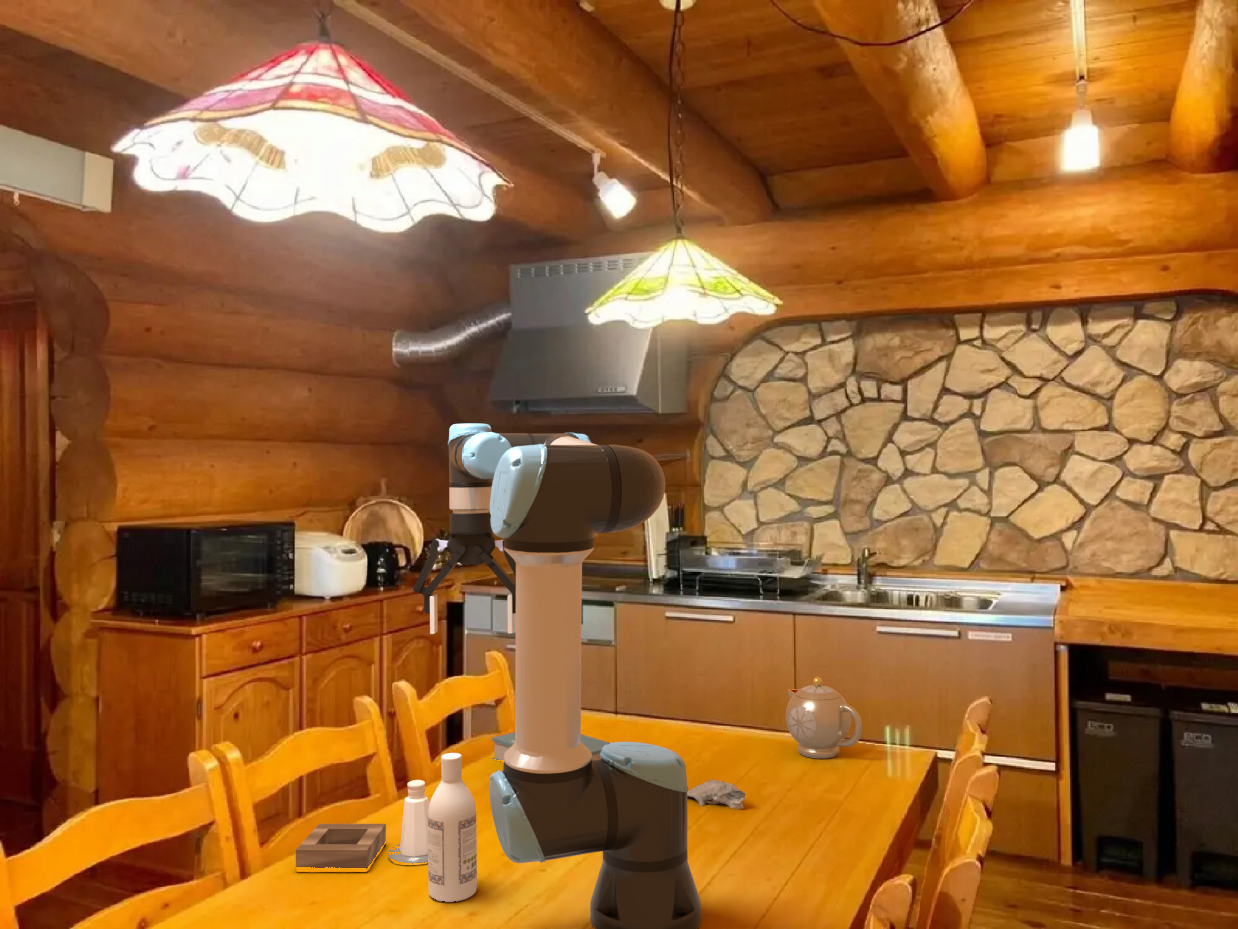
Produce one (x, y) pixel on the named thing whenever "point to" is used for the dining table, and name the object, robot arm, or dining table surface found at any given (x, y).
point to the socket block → (341, 846)
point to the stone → (718, 794)
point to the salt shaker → (415, 821)
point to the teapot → (820, 720)
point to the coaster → (407, 859)
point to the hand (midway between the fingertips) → (472, 632)
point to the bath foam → (452, 835)
